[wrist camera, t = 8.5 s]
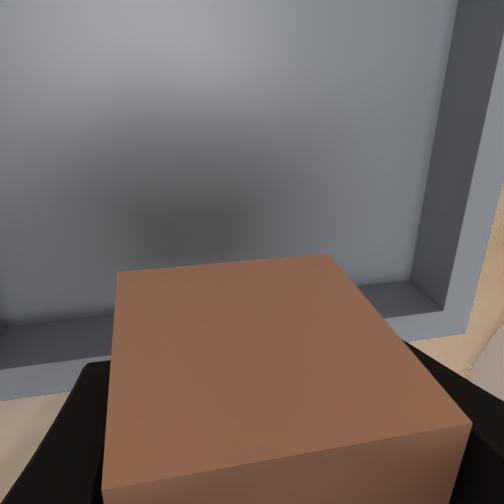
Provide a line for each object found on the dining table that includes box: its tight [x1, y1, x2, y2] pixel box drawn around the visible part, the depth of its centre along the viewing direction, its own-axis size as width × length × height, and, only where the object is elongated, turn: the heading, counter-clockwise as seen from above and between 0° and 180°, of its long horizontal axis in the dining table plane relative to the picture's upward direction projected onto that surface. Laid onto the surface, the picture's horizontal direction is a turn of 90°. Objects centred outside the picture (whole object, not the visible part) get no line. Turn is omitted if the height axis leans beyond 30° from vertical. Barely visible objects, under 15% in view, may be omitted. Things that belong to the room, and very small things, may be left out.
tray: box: [0, 0, 504, 401], centre depth 14 cm, size 18×14×3 cm
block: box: [101, 253, 473, 504], centre depth 9 cm, size 4×4×5 cm
